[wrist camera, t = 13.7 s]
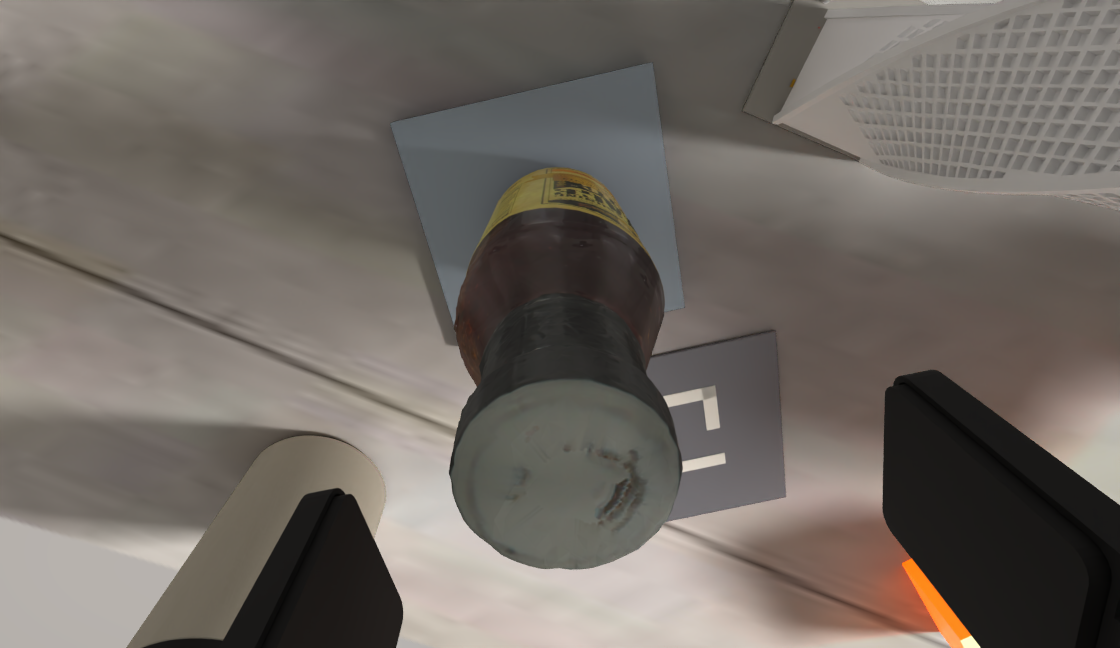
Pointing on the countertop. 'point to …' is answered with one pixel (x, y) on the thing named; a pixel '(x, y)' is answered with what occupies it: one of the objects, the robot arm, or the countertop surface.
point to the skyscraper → (956, 92)
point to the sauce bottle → (562, 380)
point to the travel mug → (254, 537)
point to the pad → (541, 164)
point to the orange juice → (939, 610)
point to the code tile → (724, 422)
